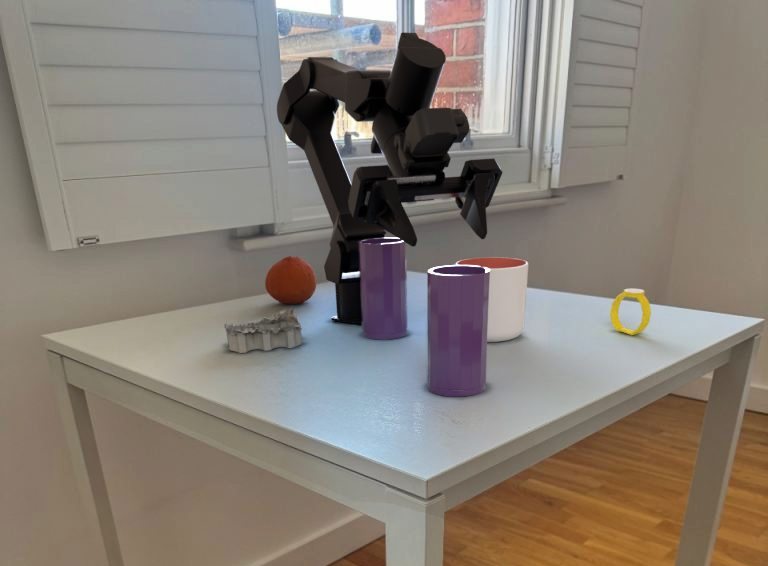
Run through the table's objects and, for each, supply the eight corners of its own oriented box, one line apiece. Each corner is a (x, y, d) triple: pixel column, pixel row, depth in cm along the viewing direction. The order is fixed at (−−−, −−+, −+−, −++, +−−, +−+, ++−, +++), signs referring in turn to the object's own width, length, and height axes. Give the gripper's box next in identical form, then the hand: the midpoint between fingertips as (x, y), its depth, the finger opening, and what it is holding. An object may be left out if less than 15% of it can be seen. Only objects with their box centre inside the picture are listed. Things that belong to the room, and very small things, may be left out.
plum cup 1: (353, 336, 103) (349, 242, 97) (378, 326, 108) (375, 236, 101) (391, 341, 99) (389, 245, 93) (415, 331, 104) (414, 238, 98)
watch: (604, 330, 101) (609, 288, 99) (617, 327, 103) (623, 285, 100) (637, 338, 97) (644, 294, 94) (651, 335, 98) (657, 292, 95)
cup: (522, 345, 96) (527, 269, 91) (449, 343, 98) (451, 268, 93) (524, 327, 104) (529, 257, 100) (457, 326, 106) (459, 257, 101)
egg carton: (299, 336, 104) (296, 308, 102) (304, 348, 98) (302, 319, 96) (226, 341, 102) (222, 313, 100) (227, 355, 96) (223, 324, 94)
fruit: (290, 296, 130) (286, 250, 126) (327, 300, 126) (323, 253, 122) (256, 305, 124) (251, 258, 120) (293, 310, 119) (289, 261, 116)
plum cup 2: (417, 391, 80) (416, 273, 74) (445, 375, 85) (446, 263, 79) (468, 400, 77) (472, 277, 70) (494, 383, 81) (500, 267, 75)
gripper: (345, 87, 77) (392, 187, 72) (492, 84, 83) (545, 176, 78) (331, 173, 87) (372, 267, 82) (463, 164, 93) (509, 252, 88)
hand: (450, 239), depth 82 cm, fingers open, 9 cm apart
